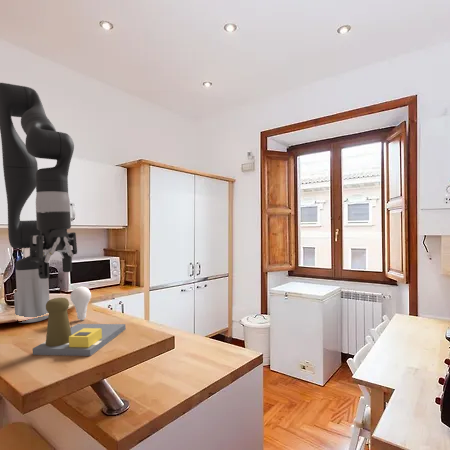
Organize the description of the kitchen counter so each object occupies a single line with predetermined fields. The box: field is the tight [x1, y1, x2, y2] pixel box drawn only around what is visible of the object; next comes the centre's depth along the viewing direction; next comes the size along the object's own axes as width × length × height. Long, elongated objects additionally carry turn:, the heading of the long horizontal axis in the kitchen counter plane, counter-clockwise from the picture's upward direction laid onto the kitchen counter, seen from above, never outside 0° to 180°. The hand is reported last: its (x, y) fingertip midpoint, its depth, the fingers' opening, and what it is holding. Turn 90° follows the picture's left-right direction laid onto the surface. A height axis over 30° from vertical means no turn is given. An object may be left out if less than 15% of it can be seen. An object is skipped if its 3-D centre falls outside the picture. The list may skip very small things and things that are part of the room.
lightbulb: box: [69, 285, 92, 321], centre depth 101 cm, size 6×6×11 cm
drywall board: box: [32, 323, 126, 357], centre depth 83 cm, size 15×18×2 cm
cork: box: [45, 297, 72, 347], centre depth 78 cm, size 6×6×11 cm
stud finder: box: [69, 328, 102, 348], centre depth 77 cm, size 5×6×3 cm
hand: (56, 275), depth 78 cm, fingers open, 8 cm apart
